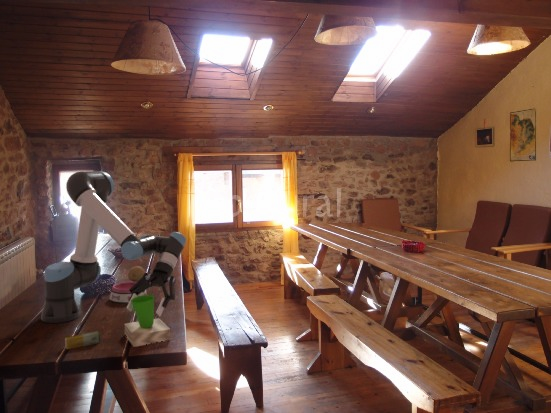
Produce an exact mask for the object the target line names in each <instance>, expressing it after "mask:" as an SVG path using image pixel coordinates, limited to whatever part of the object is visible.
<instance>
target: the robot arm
mask: <svg viewBox="0 0 551 413" xmlns="http://www.w3.org/2000/svg"><path fill="white" fill-rule="evenodd" d="M65 184H66V187H65V189H66V192H67V195H68V196H69V198H70V199H71V201H72V202H73V203H74V204H75V205H76V206H78V207H81V209H80V216H79V223H78V229H77V230H78V231H77V235H76V236H77V237H76V243H75V249H74V253H73V254H72V255H71V256H70V258H69V261H60V262H56V263H52V264H50V265H48V266H46V267H45V269H44V276H43V280H44V304H43V308H42V311H41V313H40V321H42V322H43V323H46V324H47V323H50V324H56V323H58V324H59V323H66V322H70V321H73V320H76V319H77V318H78V317H79V316H80V309H79V307H78V304H77V302H76V299H75V290H76V289H79V288H82V287H87V286H89V285H91V284H93V283H95V282H96V281H98V279H99V278H100V276H101V273H102V267H101V265H100V263H99V261H98V258H97V256H96V250H97V241H98V236H99V231H100V230H99V228H100V227H101V228H102V229H103V230H104V231H105V232H106V233H107V234H108V235H109V236H110V238H112V240H113V241H115V243H116V244H118V246H119V247H120V253H121V255H122V257H123V258H124V259H126V260H127V261H134V260H139V259H140V258H143V257H147V256H150V255H153V254H156V255H157V254H158V255H159V254H160V255H159V257H158V259H157V262H156V263H155V265H154V267H153V268H152V273H151V274H149V273H148V272H145V274H144V275H143V277H142V278H141V279H140V280H139V281H138V282H137V283H136V284H135V285H133V286H132V287H131V288H130V289H129V291H130V293H131V294H132V295H131V297H130V299H129V303H127V306H126V310H128V311H129V312H132V311H133V309H134V307H133V304H132V302H131V300H132V299H133V298H135V297H138V296H137V295H139V294H140V293H142V292H143V291H145V290H146V291H147V290H148V289H149V288H152V287H158V288H161V289H162V292H163V296H164V297H162V298H161V301H160V303H159V305H158V307H157V309H156V311H155V313H156V314H157V316H158V317H161V316H162V314H163V312H164V310H165V308H167V307H168V304H169V302H170V301H174V300H176V292H175V291H176V290H175V287H176V286H175V283H176V281H177V280H176V278H175V277H174V276H173V275H172V274H173V271H174V269H175V267H176V265H177V262H178V260H179V258H180V256H181V254H182V253H183V250H184V249H185V245H186V243H187V238H186V236H185V235H184V234H183V233H181V232H178V231H173V232H171V233H170V235H169V236H162V235H161V236H160V235H153V234H143V235H141V236H140V238H139V237H138V236H137V235H136V234H135V232H133V230H131V229H130V228H129V227H128V225H126V223H124V221H123V220H121V218H120V217H119V216H118V215H117V214H116V213H115V212H114V210H112V209H111V208H110V207H109V206H108V205H107V201H108V197H110V195H111V194H113V193H114V188H115V182H114V180H113V178H112V176H111V175H110V174H109V173H108V172H105V171H101V170H91V171H90V170H89V171H84V170H82V171H81V170H80V171H76V172H74V173H72V174H71V175H70V176H69V177H68V179H67V181H66V183H65ZM167 283H168V285H169V288H167V287H168V286H167ZM168 289H169V291H168Z"/></svg>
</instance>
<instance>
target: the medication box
mask: <svg viewBox="0 0 551 413" xmlns="http://www.w3.org/2000/svg"><path fill="white" fill-rule="evenodd" d="M100 336H101V333H100V332H99V331H92V332H87V333H82V334H77V335H73V336H67V337H64V341H65V342H64V344H65V346H64V347H65V349H66V350H71V349H76V348H80V347H87V346H91V345H95V344H96V345H97V344H100V343H101V338H100Z"/></svg>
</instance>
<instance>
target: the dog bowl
mask: <svg viewBox="0 0 551 413" xmlns="http://www.w3.org/2000/svg"><path fill="white" fill-rule="evenodd" d="M136 283H137V282H133V281H124V282H118V283H116V284H115V283H114V284H113V286H112V287H111V290H110V295H109V299H108V300H109V302H111V303H114V304H123V303H126V304H128V303H129V299H130V297H131V295H132V294H131V293H130V291H129V289H130V288H131V287H132V286H133V285H135V284H136ZM142 295H148V293H147V289H146V290H145V291H143V292H142V293H140V294H139V295H137V296H142Z"/></svg>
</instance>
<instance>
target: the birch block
mask: <svg viewBox="0 0 551 413" xmlns="http://www.w3.org/2000/svg"><path fill="white" fill-rule="evenodd" d="M125 335H126V336H127V337H126V336H125ZM124 336H125V337H126V339H127V338H128V339H127V340H128V341H129V342H130V344H131V346H132V347H134V348H135V347H140V346H141V347H142V346H145V345H146V344H147V345H150V344H151V343H152V344H157V343H156V342H158V343H162V342H161V341H163V342H166V341H165V340H169V339H170V340H171V329H170V327H169V326H168V325H167V324H166V323H165V322H164V320H162V319H161V318H154V323H153V325H152V326H150V327H147V328H141V326H140V325H139V322H138V321H133V322H127V323H124ZM170 340H169V341H170ZM152 344H151V345H152Z"/></svg>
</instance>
